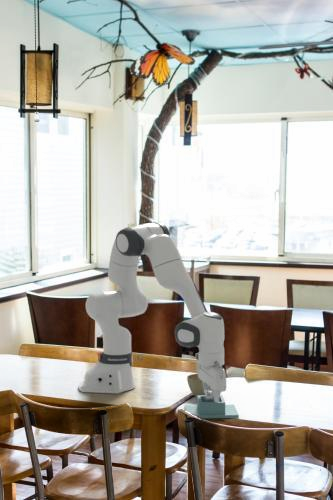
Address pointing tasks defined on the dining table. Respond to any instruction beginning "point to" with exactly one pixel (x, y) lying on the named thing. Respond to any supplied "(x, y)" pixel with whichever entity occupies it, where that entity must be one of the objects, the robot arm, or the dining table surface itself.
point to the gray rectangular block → (209, 395)
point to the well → (212, 409)
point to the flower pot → (195, 385)
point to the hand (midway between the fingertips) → (211, 397)
